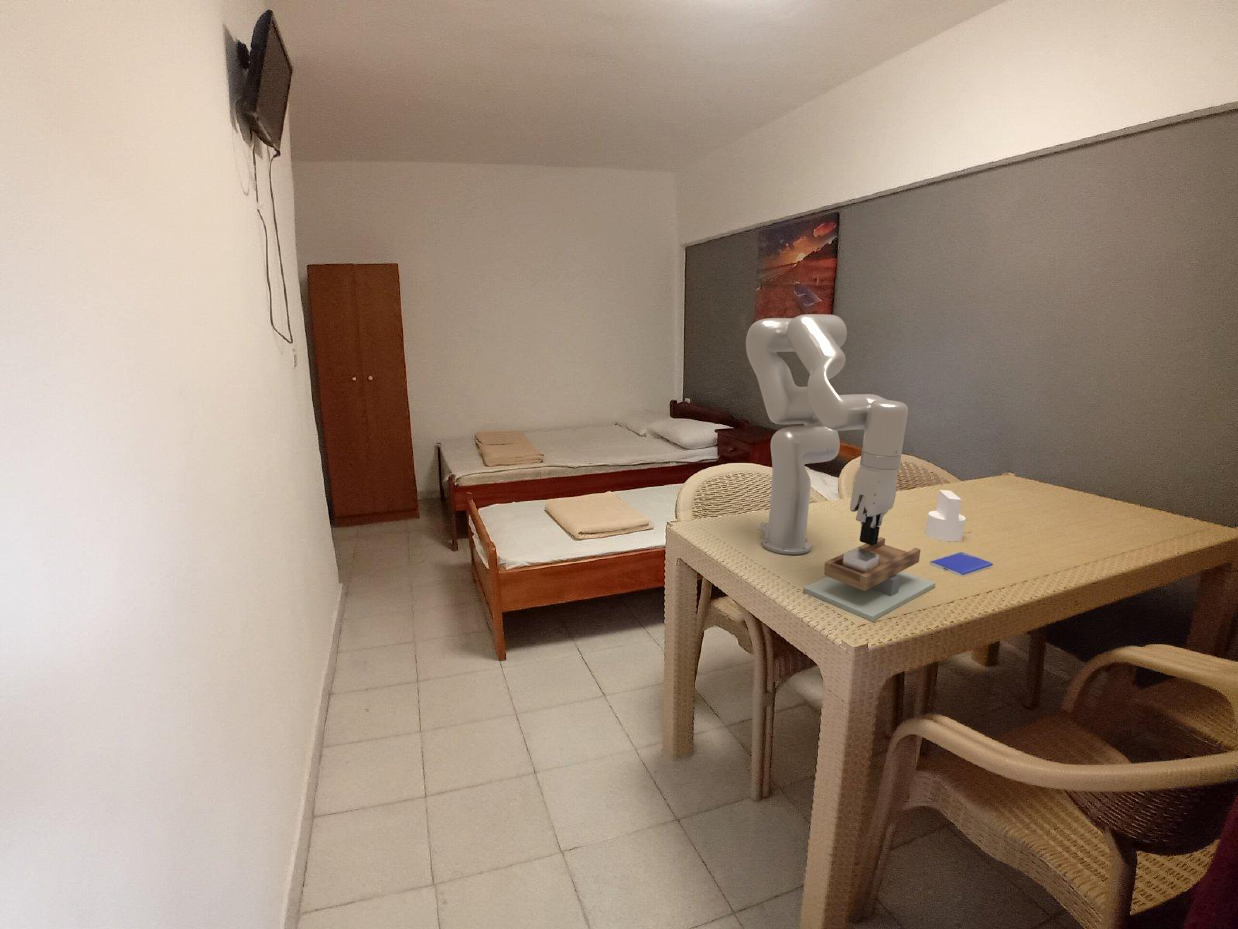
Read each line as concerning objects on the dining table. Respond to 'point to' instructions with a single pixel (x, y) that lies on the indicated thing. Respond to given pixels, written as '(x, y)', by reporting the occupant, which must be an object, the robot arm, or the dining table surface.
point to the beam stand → (870, 594)
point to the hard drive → (961, 564)
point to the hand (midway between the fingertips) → (868, 542)
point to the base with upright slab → (946, 518)
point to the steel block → (860, 560)
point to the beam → (887, 567)
